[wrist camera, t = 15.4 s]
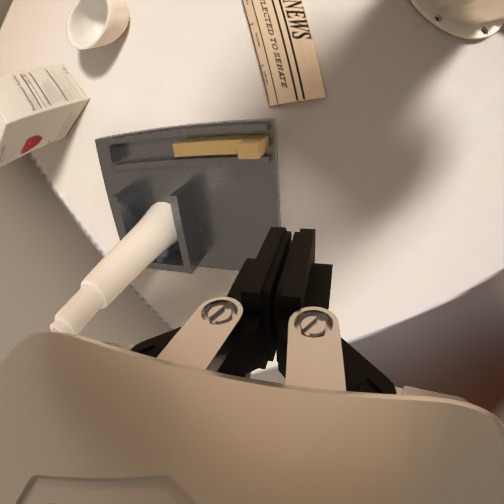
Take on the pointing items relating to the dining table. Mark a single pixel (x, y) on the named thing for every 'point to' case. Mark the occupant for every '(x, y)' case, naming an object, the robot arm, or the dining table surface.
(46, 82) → the supplement box
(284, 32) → the newspaper
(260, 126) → the cradle
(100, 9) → the teacup
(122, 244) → the cosmetic bottle
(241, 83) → the dining table surface
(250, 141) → the wooden block
